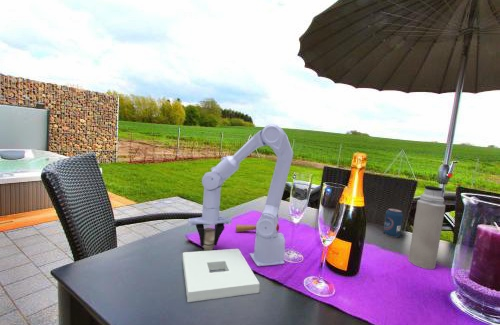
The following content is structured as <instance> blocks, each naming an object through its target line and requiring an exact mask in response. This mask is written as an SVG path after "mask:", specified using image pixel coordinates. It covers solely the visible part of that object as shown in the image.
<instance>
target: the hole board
mask: <svg viewBox="0 0 500 325" xmlns="http://www.w3.org/2000/svg"><path fill="white" fill-rule="evenodd" d="M182 267H183V268H182V269H183V275H184V283H185V291H186V292H185V293H186V300H187V303H192V302H199V301H200V302H201V301H206V300H207V301H208V300H214V299H215V300H216V299H222V298H223V299H224V298H230V297H235V296H237V297H238V296H243V295H252V294H258V293H259V294H260V285H261V284H260V281H259V280H258V279H257V277H256V275H255V274H254V271H253V270H252V269H251V267H250V265H249V263H248V262H247V260H246V259H245V257H244V256H243V254H242V252H241V250H240V249H239V248H229V249H227V248H226V249H217V250H215V249H214V250H212V251H204V250H201V251H200V250H198V251H186V252H182ZM219 270H224V271H219ZM210 271H215V272H210Z"/></svg>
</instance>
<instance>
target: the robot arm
mask: <svg viewBox="0 0 500 325" xmlns="http://www.w3.org/2000/svg"><path fill="white" fill-rule="evenodd" d="M266 146H268V147H270V149H272V151H273V152H274V154H275V156H276V157H277V159H276V161H275V165H274V166H275V167H274V171H273V174H272V177H271V182H270V185H269V189H268V192H267V197H266V200H265V205H264V208H263V210H262V213H261V215H260V218H259V219H258V220H257V221H258V222H257V221H256V229H255V230H256V231H255V240H254V248H253V249H254V252H250V253H249V256H250V258H251V259H252V261H253V262H254V263H255V266H256V267H265V266H274V265H275V266H276V265H284V264H285V260H284V259H285V252H286V251H285V250H286V239H285V235H284V234H283V233H282V232H279V231H278V232H277V230H276V227H277V224H278V225H279V222H280V220H279V210H280V207H281V206H280V205H281V203H282V198H283V194H284V190H285V188H286V185H287V184H286V183H287V180H288V176H289V173H290V168H291V165H292V162H293V158H294V151H293V149H292V145H291V143H290V140H289V138H288V135H287V133H286V132H285V130H284V129H283V128H282V127H280V126H279V125H278V124H275V123H274V124H273V123H271V124H270V123H269V124H266V125H265V127H263V129H261V130H259V131H258V132H257V133H255V134H254V135H253V136H251V137H250V139H249V140H247V141H246V142H245V143H244V144H243V145H242V146H241V147H240V148H239V149H238V150H237V151H236V152H235V153H234V154H233V155H226V156H222V157H221V158H220V162H219V163H218V164H216V166H213V167H211V168H210V170H211V171H207V172H205V173H204V175H203V176H202V178H201V184H202V186H203V196H202V197H203V198H202V199H203V200H202V210H201V212H202V213H201V216H200V217H192V218H187V219H188V222H187V225H188V227H192V226H195V227H196V231H197V232H198V236H199V242H200V244H199V245H200V247H203V237H204V230H205V226H207V225H208V226H209V225H210V226H212V225H214V229H215V244H214V247H216V246H218V242H219V239H220V237H221V235H222V233H223V231H224V230H225V225H230V226H231V225H232V218H231V217H229V216H228V217H225V216H220V210H221V209H220V206H221V196H222V193H221V190H222V186H223V184H224V182H225V181H227V180H228V179H229V178H231V176H232V175H234V174H235V173H236V172H237V171H238V170H239V169H240V163H241V162H242V161H244V159H246V158H248V156H250V155H251V154H252V153H253V152H255V151H256V150H257V149H258V148H261V147H266Z"/></svg>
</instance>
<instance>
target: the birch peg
mask: <svg viewBox="0 0 500 325" xmlns="http://www.w3.org/2000/svg"><path fill="white" fill-rule="evenodd" d="M204 229H205V230H204V237H203V246H202V248H203V251H212V250H213V249H214V247H215V245H214V244H215V227H214V228H213V227H204Z"/></svg>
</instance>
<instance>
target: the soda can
mask: <svg viewBox="0 0 500 325" xmlns="http://www.w3.org/2000/svg"><path fill="white" fill-rule="evenodd" d="M403 219H404V214H403V210H401V209H398V208H391V207H390V208H387V210H386V212H385V218H384V225H383V234H384V235H385V236H387V237H391V238H399V237H400V236H401V232H402V227H403Z"/></svg>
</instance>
